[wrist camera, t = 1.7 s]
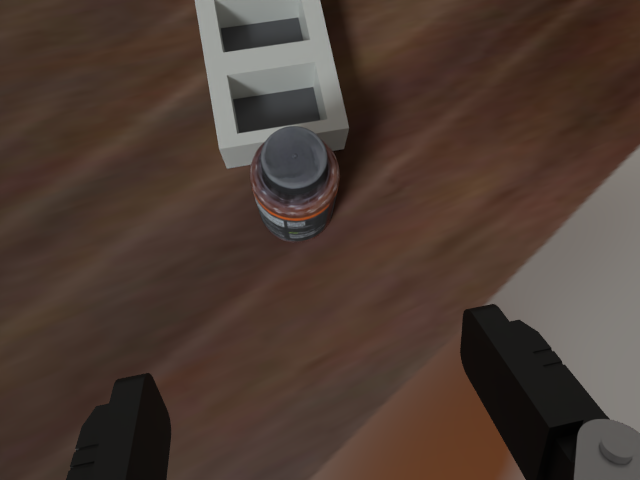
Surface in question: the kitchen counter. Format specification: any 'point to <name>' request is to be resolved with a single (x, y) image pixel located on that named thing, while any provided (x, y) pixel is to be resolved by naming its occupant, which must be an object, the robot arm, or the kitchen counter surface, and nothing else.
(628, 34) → the kitchen counter surface
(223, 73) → the board
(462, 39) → the kitchen counter surface
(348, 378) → the kitchen counter surface
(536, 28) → the kitchen counter surface
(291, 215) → the supplement bottle
